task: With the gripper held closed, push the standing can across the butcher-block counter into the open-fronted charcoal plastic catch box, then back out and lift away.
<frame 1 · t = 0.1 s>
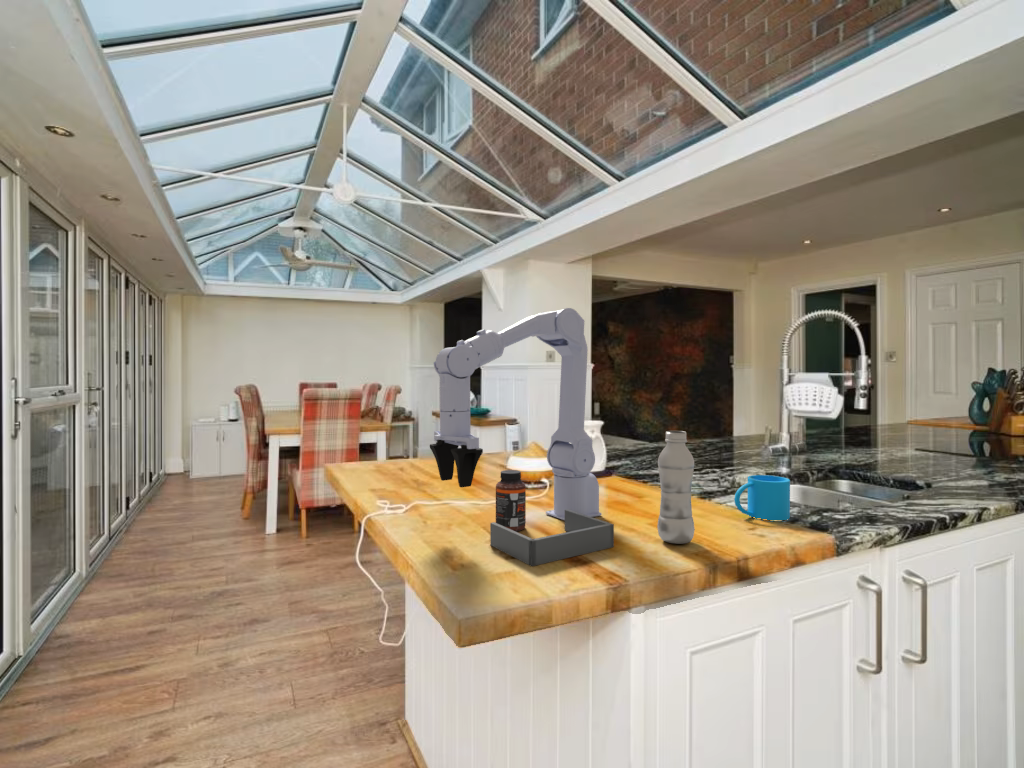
hand: (455, 483, 102), 10 cm above the counter, fingers open, 7 cm apart
supplement bottle: (510, 529, 108), on the counter
plastic bottle: (675, 543, 98), on the counter
catch box: (550, 545, 97), on the counter
mug: (760, 518, 116), on the counter
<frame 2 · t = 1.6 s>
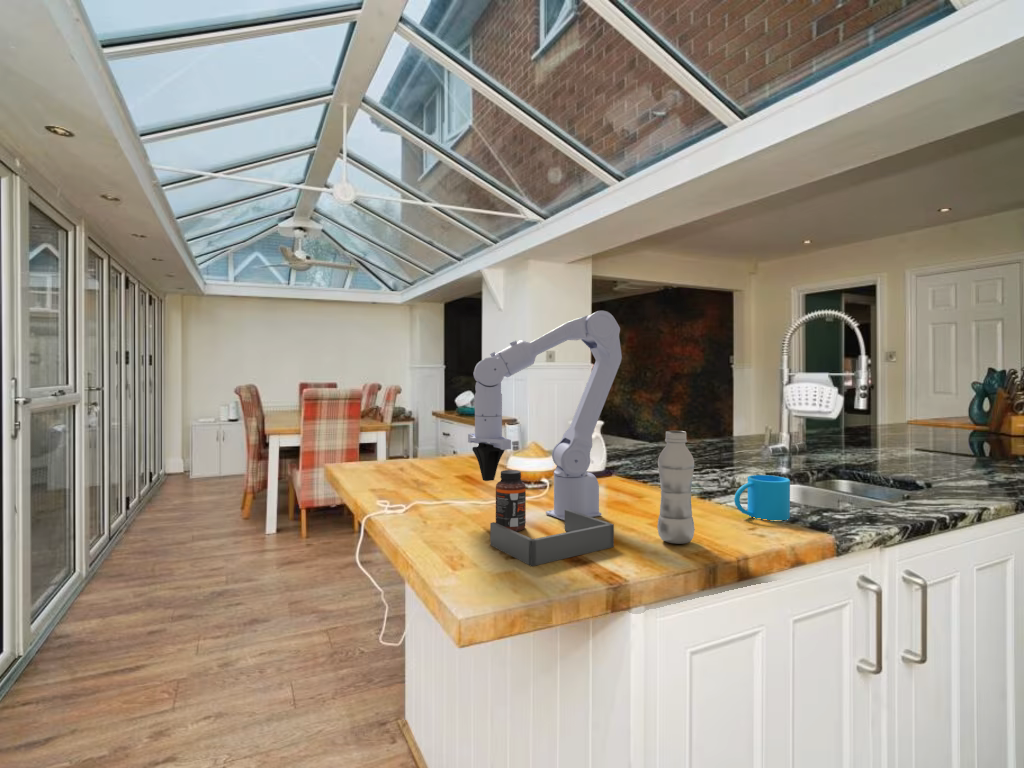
hand: (488, 480, 115), 8 cm above the counter, fingers closed
nothing on the counter moved.
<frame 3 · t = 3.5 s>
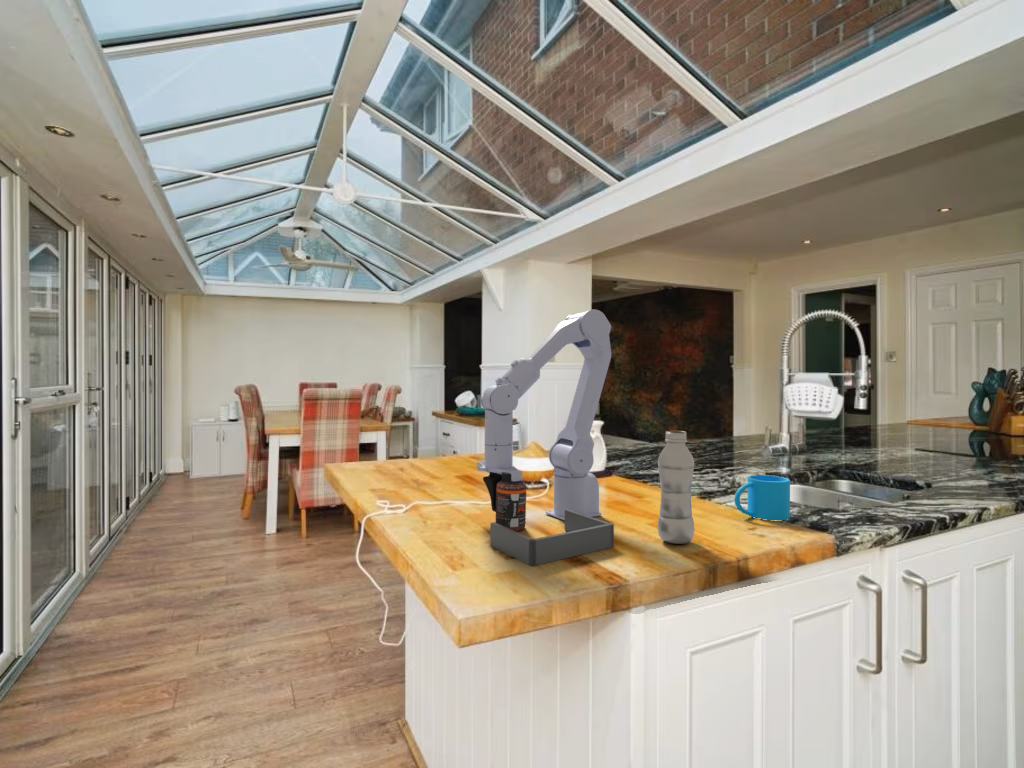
hand: (498, 510, 111), 3 cm above the counter, fingers closed
supplement bottle: (510, 528, 108), on the counter, touching gripper
everything else where it was.
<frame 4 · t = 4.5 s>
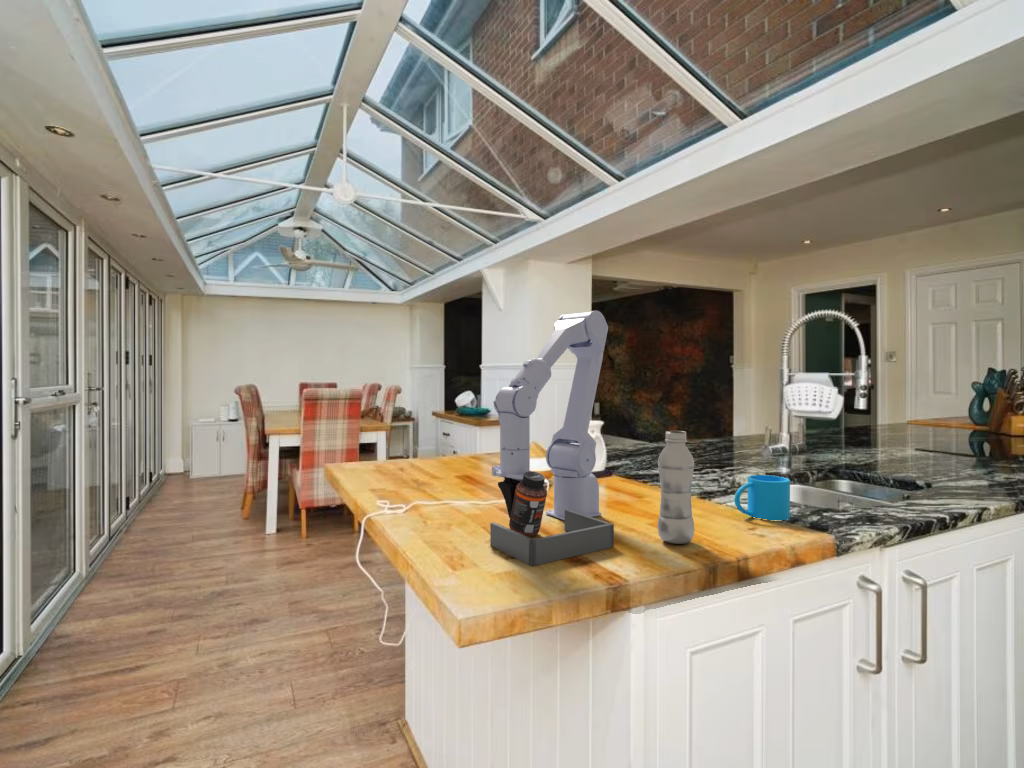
hand: (515, 517, 106), 2 cm above the counter, fingers closed
supplement bottle: (523, 530, 104), point 1 cm above the counter, touching gripper
everything else where it was.
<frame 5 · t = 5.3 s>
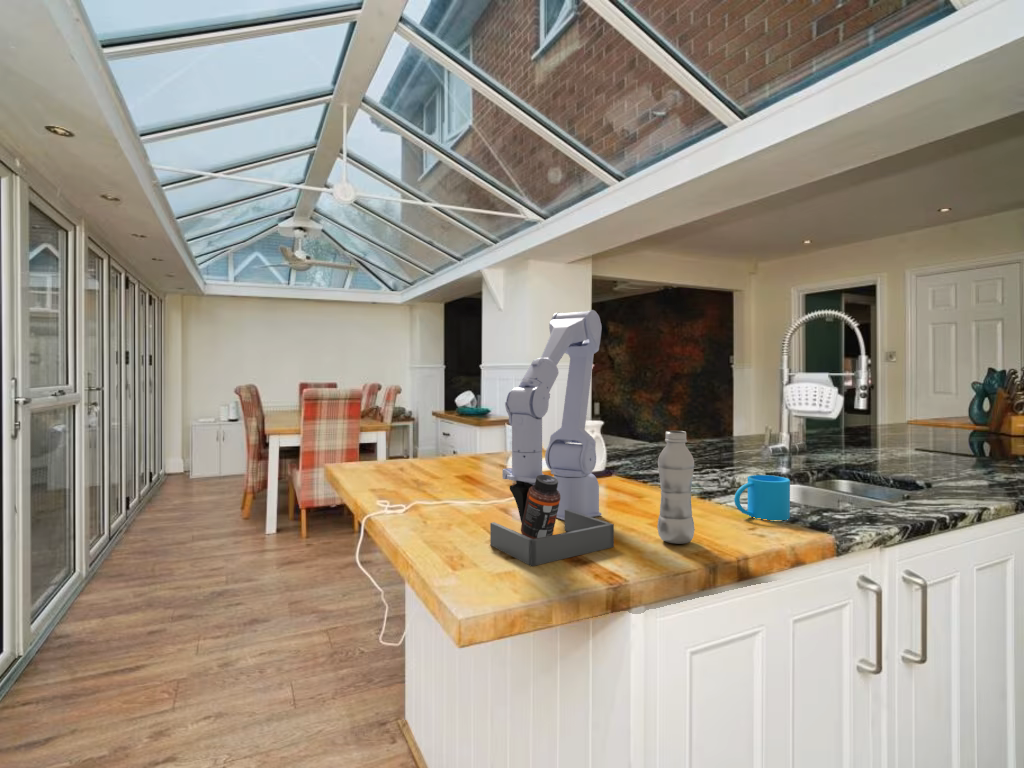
hand: (527, 522, 103), 2 cm above the counter, fingers closed
supplement bottle: (535, 535, 100), point 1 cm above the counter, touching gripper
everything else where it was.
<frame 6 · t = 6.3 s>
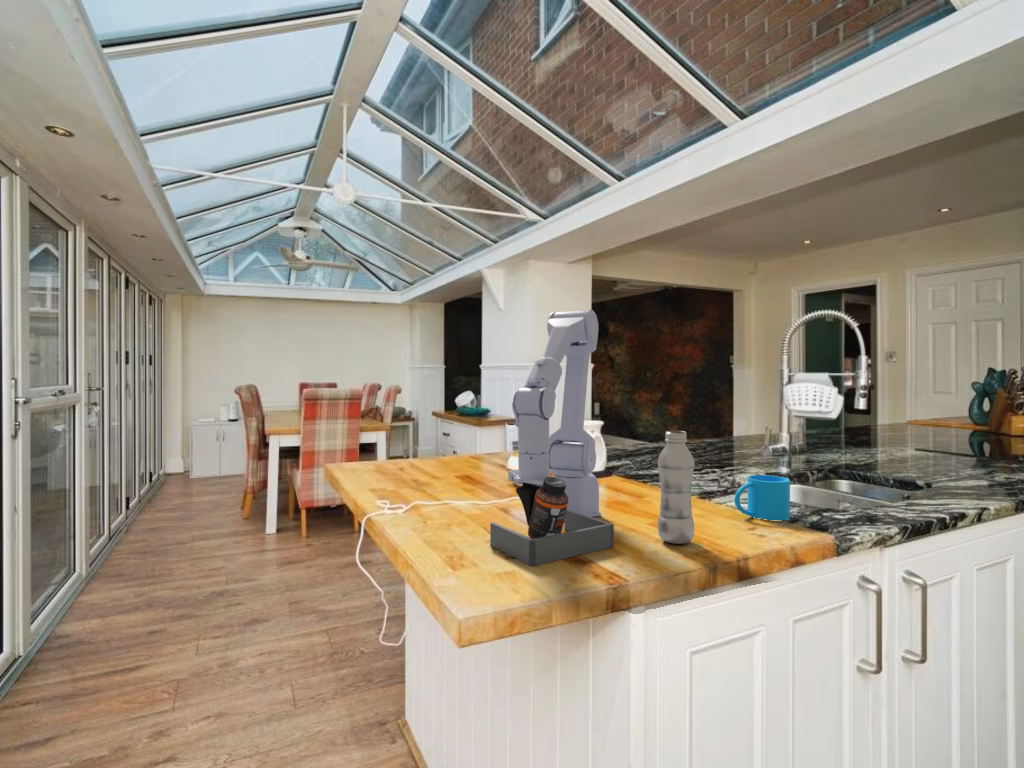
hand: (533, 525, 101), 2 cm above the counter, fingers closed
supplement bottle: (543, 539, 98), point 1 cm above the counter, touching gripper
everything else where it was.
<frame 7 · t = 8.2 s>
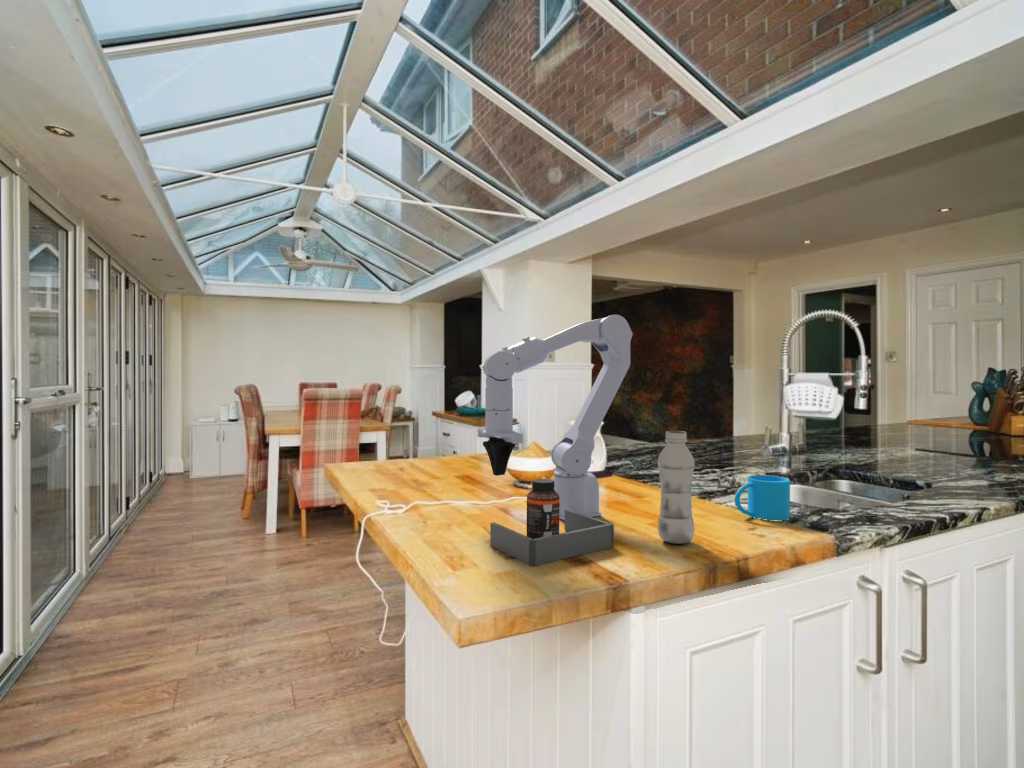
hand: (499, 474, 114), 9 cm above the counter, fingers closed
supplement bottle: (542, 543, 98), on the counter
everything else where it was.
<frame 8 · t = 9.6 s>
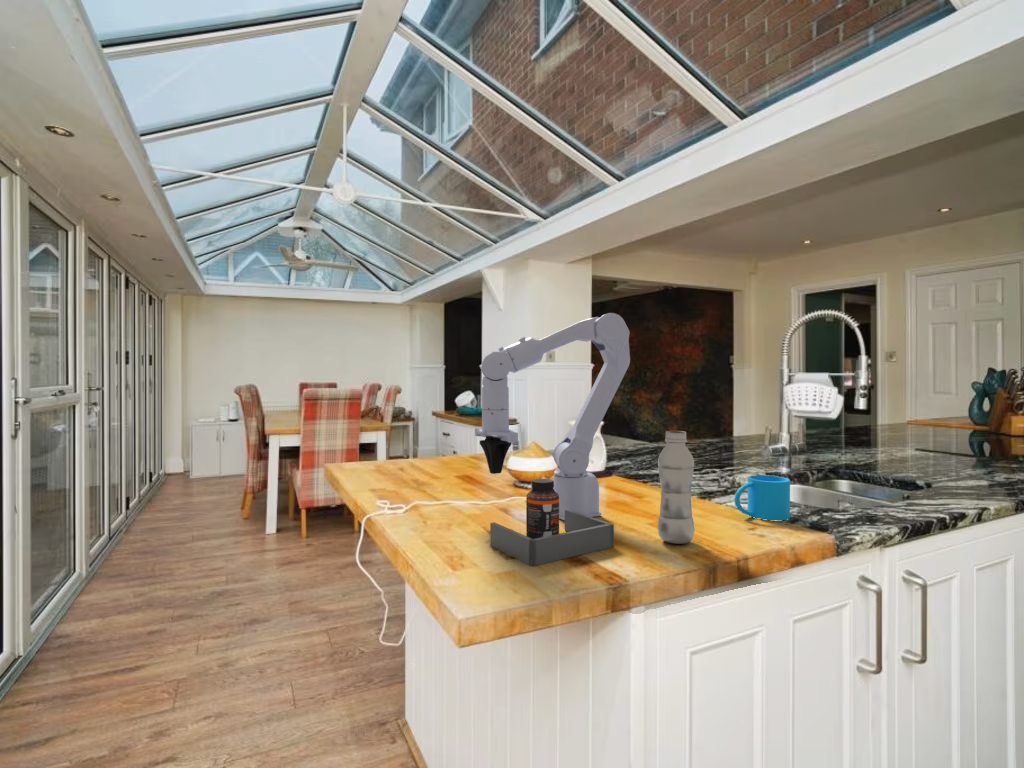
hand: (495, 473, 116), 9 cm above the counter, fingers closed
nothing on the counter moved.
at the end: supplement bottle inside the target area (3.4 cm from its centre), on the counter; supplement bottle tilted 0°; supplement bottle moved 10.9 cm from its start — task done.
